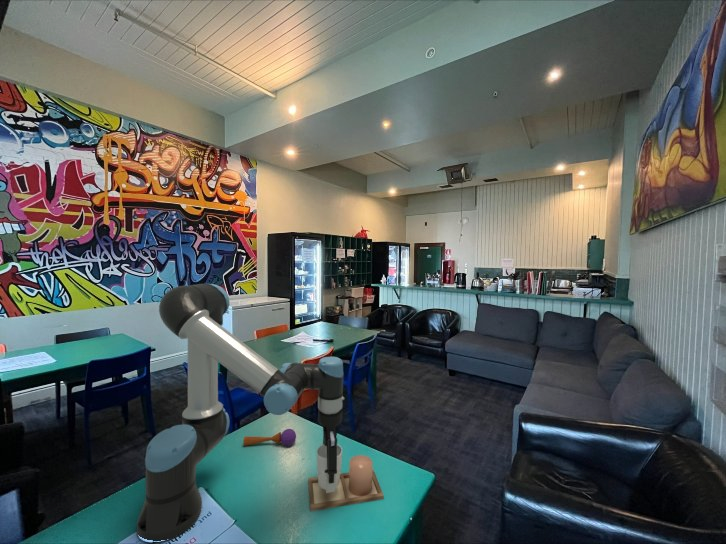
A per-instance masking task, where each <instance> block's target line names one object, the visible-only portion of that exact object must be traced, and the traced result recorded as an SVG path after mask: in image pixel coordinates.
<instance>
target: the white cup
mask: <svg viewBox="0 0 726 544" xmlns="http://www.w3.org/2000/svg"><path fill="white" fill-rule="evenodd" d="M342 457H343V447H342V446H341V445H340V444H338V443H337V474H336V481H335V488H336V487H337V486H338V485H339V482H340V474H341V473H342V472H341V471H342ZM316 469H317V470H316V471H317V477H318V485H319V486H320V487H321V488H322V489H325V490H326V473H325V470H327V446H325V445H324V444H323V443H322V444H321V445H319V446H318V447H317V449H316Z"/></svg>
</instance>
